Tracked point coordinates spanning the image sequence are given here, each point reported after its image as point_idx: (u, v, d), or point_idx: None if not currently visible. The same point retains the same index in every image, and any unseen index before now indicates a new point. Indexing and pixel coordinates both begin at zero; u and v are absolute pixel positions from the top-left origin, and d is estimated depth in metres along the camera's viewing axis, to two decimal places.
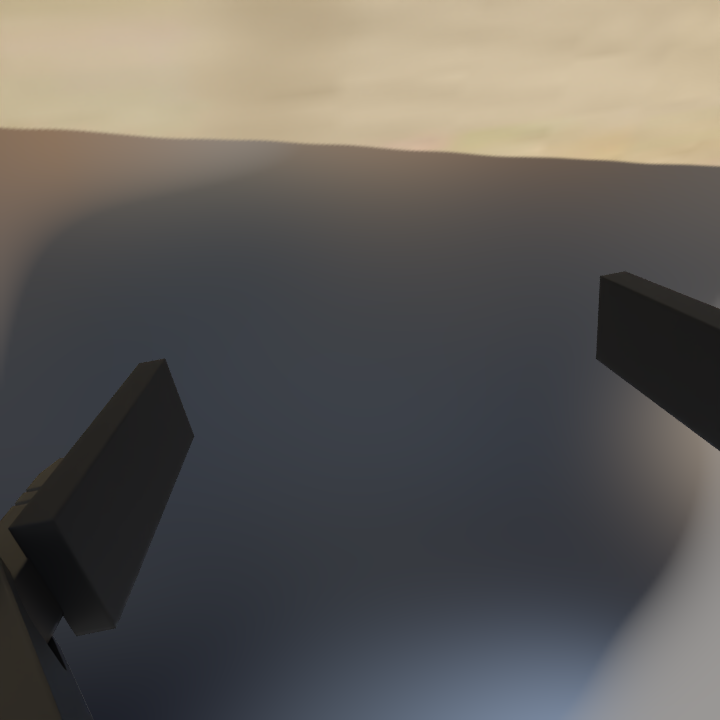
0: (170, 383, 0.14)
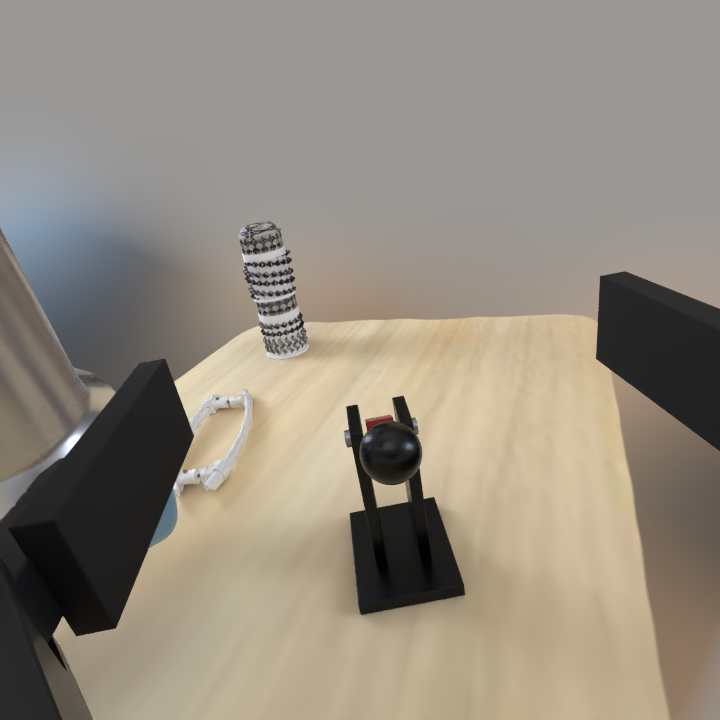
0: (170, 383, 0.14)
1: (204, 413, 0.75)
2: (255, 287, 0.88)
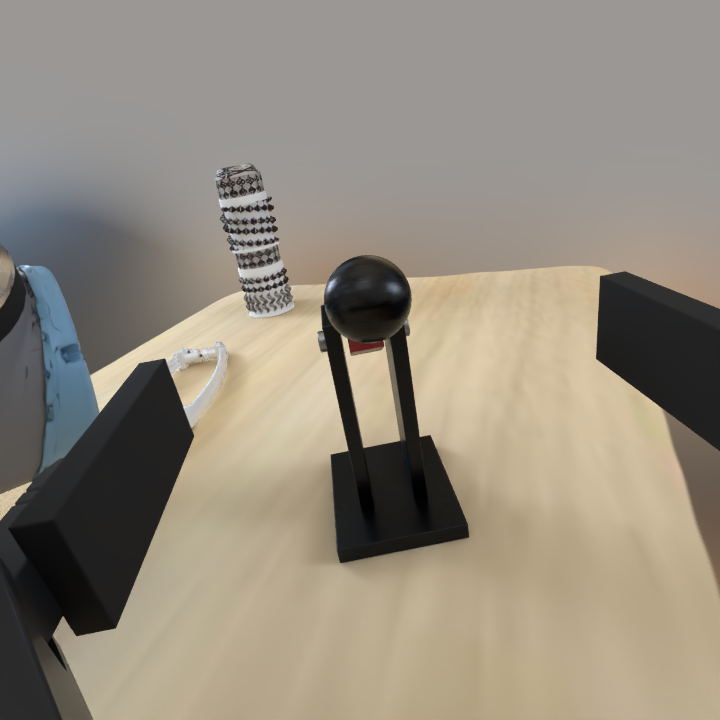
0: (170, 383, 0.14)
1: (174, 367, 0.67)
2: (234, 236, 0.80)
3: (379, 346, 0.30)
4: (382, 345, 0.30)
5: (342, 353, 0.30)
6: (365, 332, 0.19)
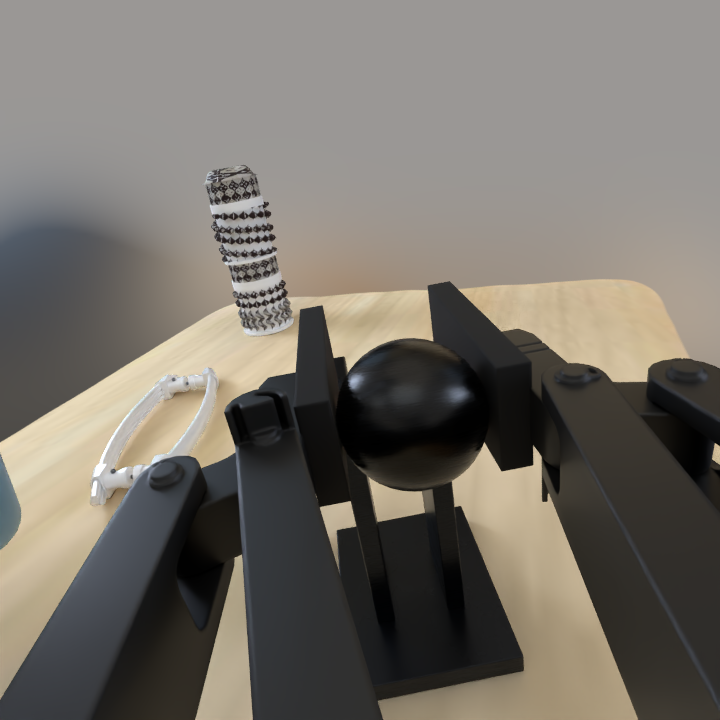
0: (326, 327, 0.16)
1: (156, 397, 0.59)
2: (226, 246, 0.72)
3: None
4: None
5: None
6: (411, 484, 0.10)
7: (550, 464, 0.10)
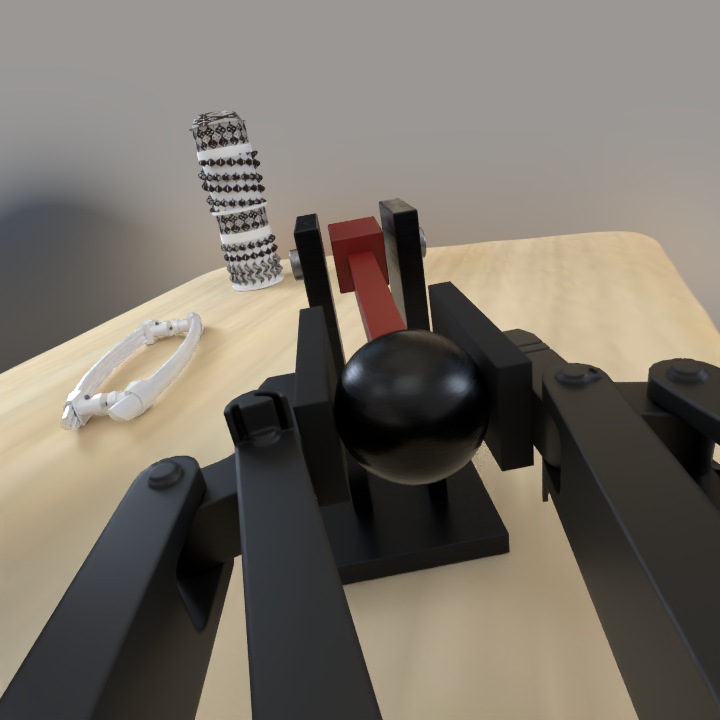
0: (326, 327, 0.16)
1: (138, 341, 0.57)
2: (214, 196, 0.70)
3: None
4: (387, 284, 0.21)
5: (325, 276, 0.20)
6: None
7: (551, 464, 0.10)
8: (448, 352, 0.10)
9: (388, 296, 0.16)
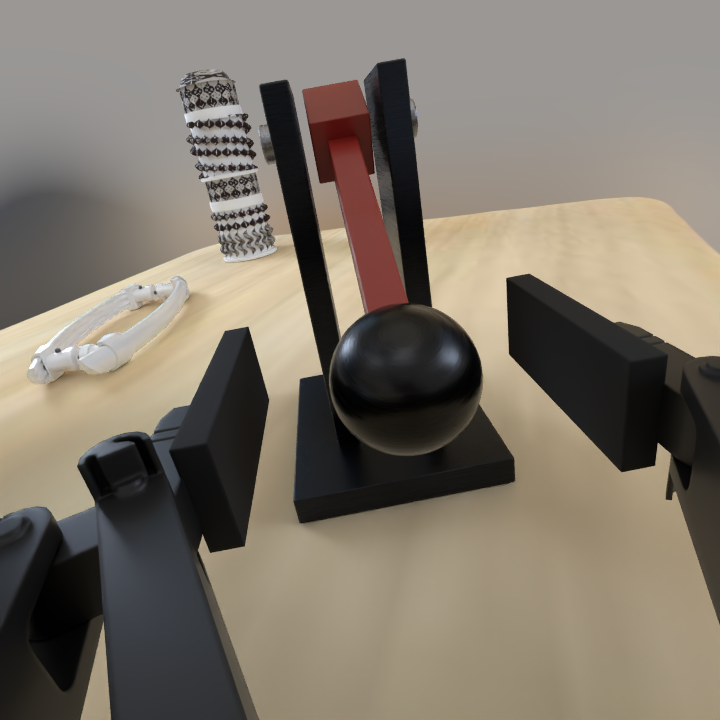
0: (253, 349, 0.15)
1: (120, 305, 0.54)
2: (203, 161, 0.67)
3: None
4: (371, 173, 0.19)
5: (297, 143, 0.17)
6: None
7: (680, 461, 0.10)
8: (448, 347, 0.10)
9: (378, 221, 0.14)
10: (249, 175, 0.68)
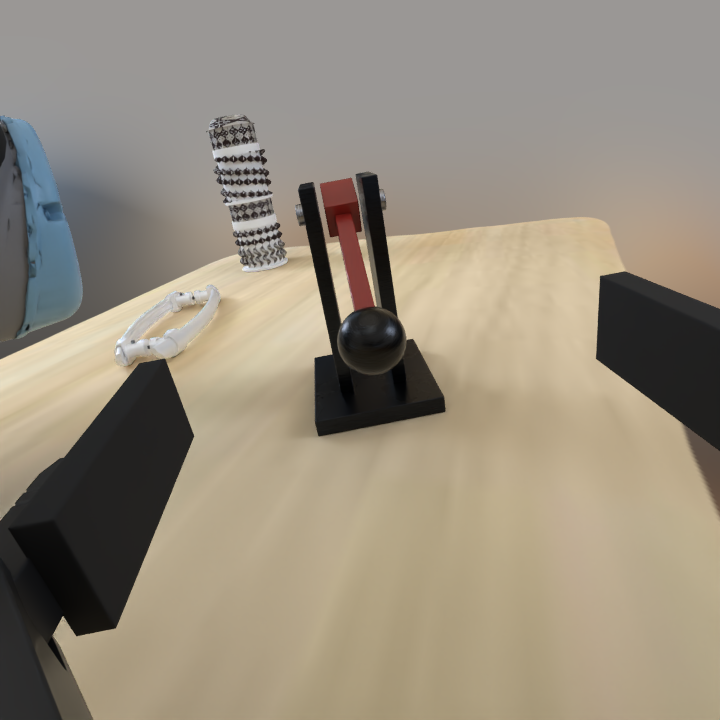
0: (170, 383, 0.14)
1: (166, 308, 0.68)
2: (227, 188, 0.81)
3: (357, 231, 0.32)
4: (360, 231, 0.32)
5: (318, 218, 0.30)
6: None
7: None
8: (388, 325, 0.23)
9: (361, 264, 0.28)
10: (265, 200, 0.82)
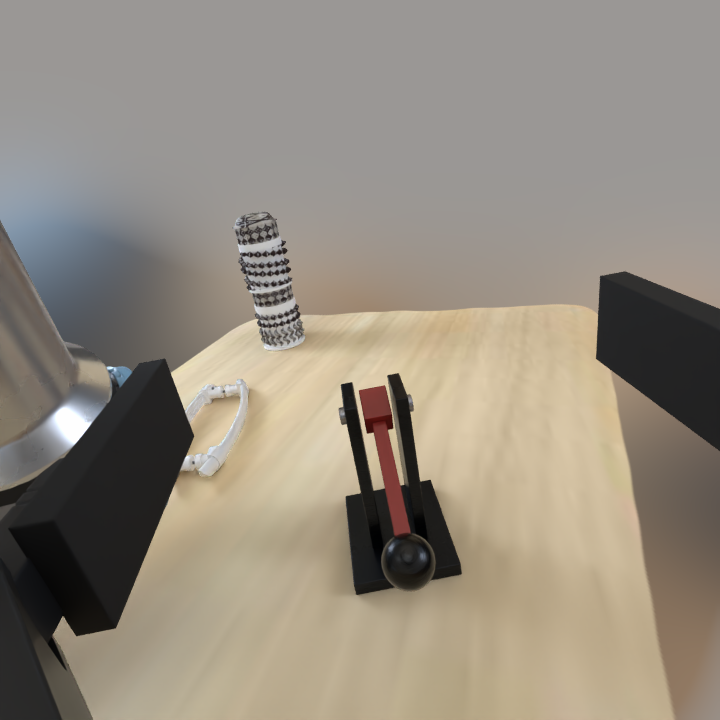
0: (170, 383, 0.14)
1: (199, 403, 0.74)
2: (251, 278, 0.87)
3: None
4: (391, 428, 0.39)
5: (359, 429, 0.37)
6: None
7: None
8: (422, 559, 0.30)
9: (397, 481, 0.35)
10: (286, 287, 0.89)
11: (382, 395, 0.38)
